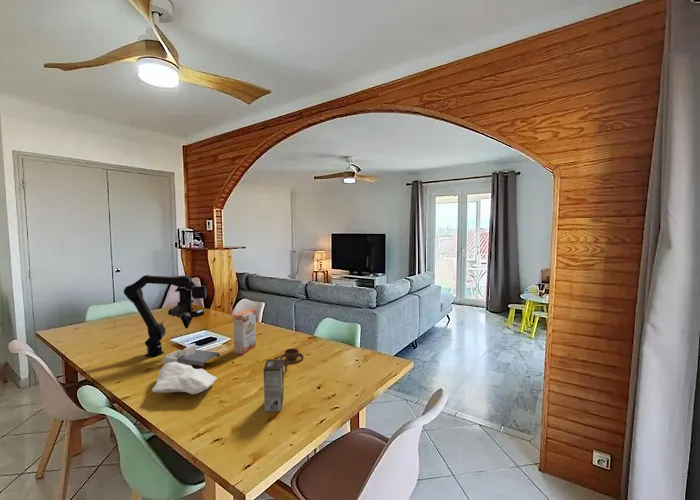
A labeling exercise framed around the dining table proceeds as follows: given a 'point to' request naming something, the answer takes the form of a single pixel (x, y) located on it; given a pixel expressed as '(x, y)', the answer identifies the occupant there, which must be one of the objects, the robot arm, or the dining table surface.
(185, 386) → the crumpled cloth
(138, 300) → the robot arm
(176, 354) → the tray
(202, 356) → the lid
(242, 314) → the cracker box
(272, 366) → the coffee box
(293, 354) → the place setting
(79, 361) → the dining table surface
